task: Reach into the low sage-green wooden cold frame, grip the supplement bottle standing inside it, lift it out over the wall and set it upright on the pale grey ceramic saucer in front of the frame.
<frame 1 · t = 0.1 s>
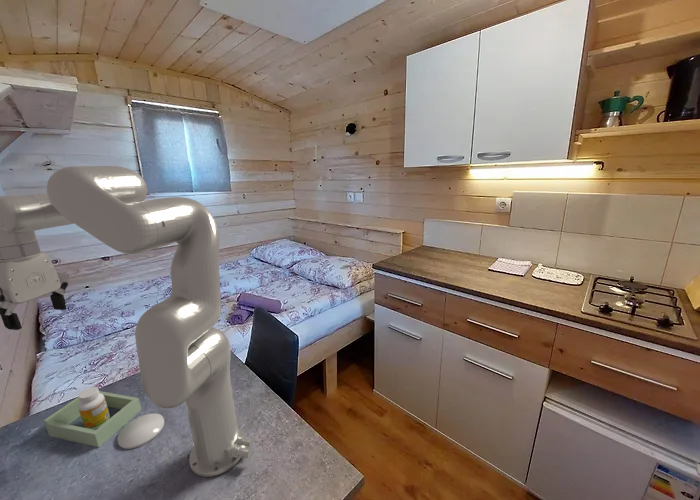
hand: (39, 318, 73), 31 cm above the table, tool pointing down, fingers open, 9 cm apart
saucer: (142, 431, 78), on the table
supplement bottle: (98, 422, 81), resting in cold frame
cold frame: (97, 422, 81), on the table
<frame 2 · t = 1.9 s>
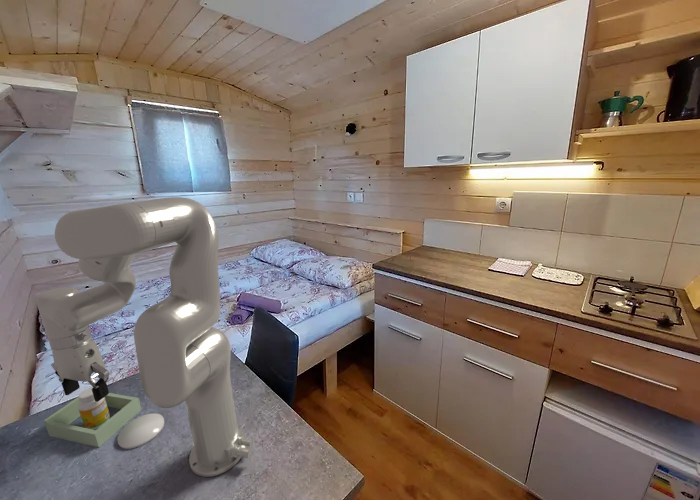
hand: (87, 394, 79), 9 cm above the table, tool pointing down, fingers open, 9 cm apart
nothing on the table moved.
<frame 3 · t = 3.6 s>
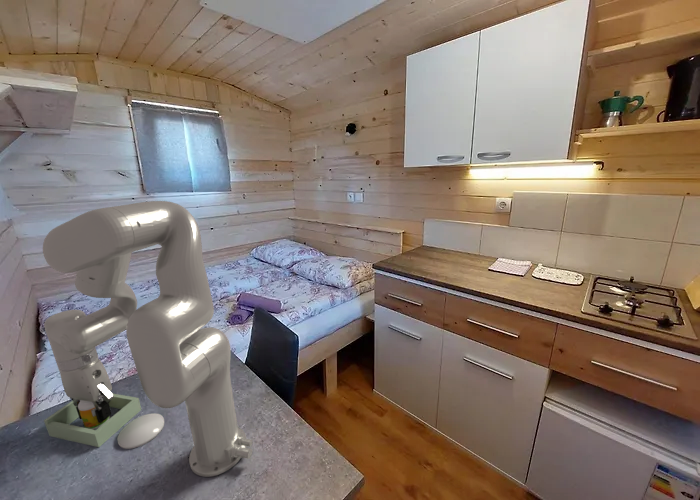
hand: (95, 416, 80), 2 cm above the table, tool pointing down, fingers closed on supplement bottle, 5 cm apart
supplement bottle: (98, 422, 81), resting in cold frame, touching gripper
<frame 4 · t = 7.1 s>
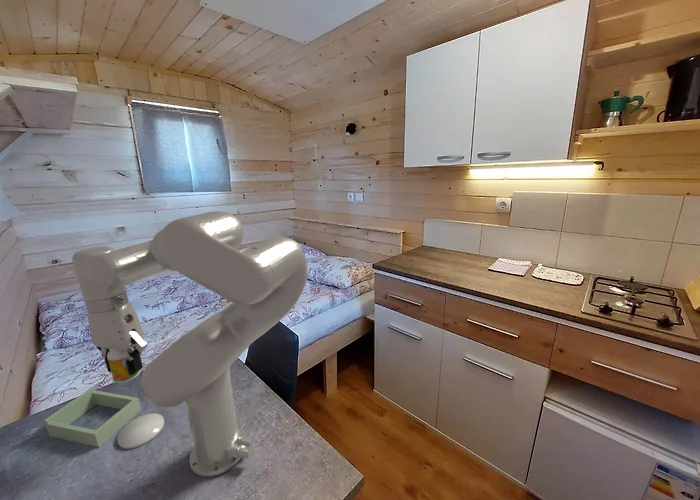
hand: (125, 369, 73), 19 cm above the table, tool pointing down, fingers closed on supplement bottle, 5 cm apart
supplement bottle: (127, 376, 73), point 17 cm above the table, touching gripper
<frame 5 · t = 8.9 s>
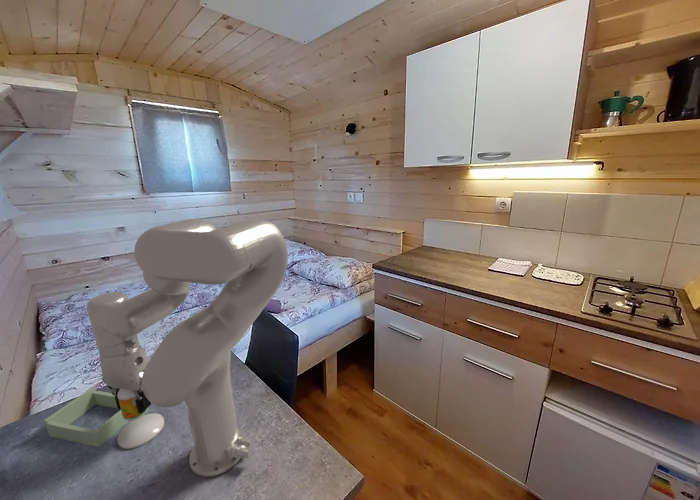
hand: (134, 406, 76), 8 cm above the table, tool pointing down, fingers closed on supplement bottle, 5 cm apart
supplement bottle: (136, 413, 76), point 6 cm above the table, touching gripper
when the fingers open (4 cm above the table, at t = 10.6 s): supplement bottle drops 1 cm, resting on saucer.
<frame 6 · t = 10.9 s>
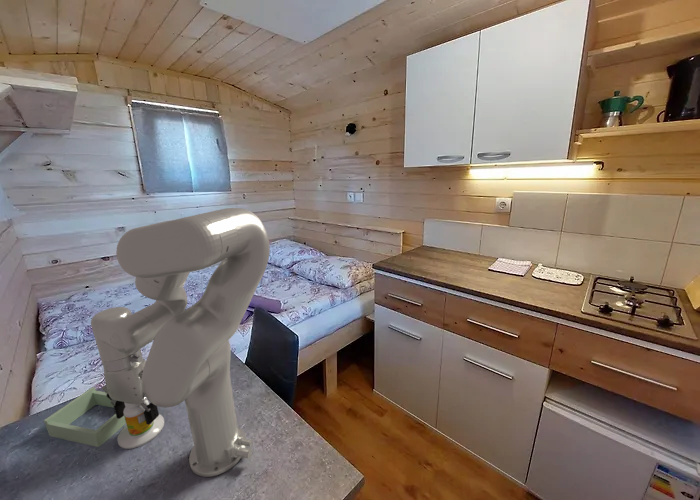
hand: (138, 417, 77), 5 cm above the table, tool pointing down, fingers open, 8 cm apart
supplement bottle: (142, 429, 78), point 1 cm above the table, touching saucer
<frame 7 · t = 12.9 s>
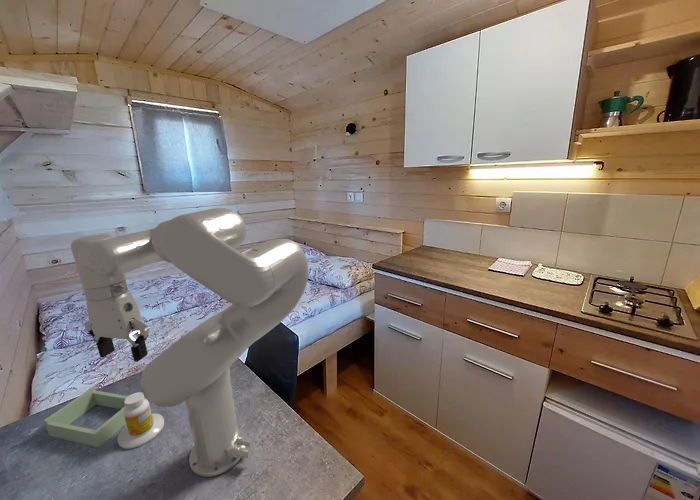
hand: (124, 356, 72), 22 cm above the table, tool pointing down, fingers open, 9 cm apart
nothing on the table moved.
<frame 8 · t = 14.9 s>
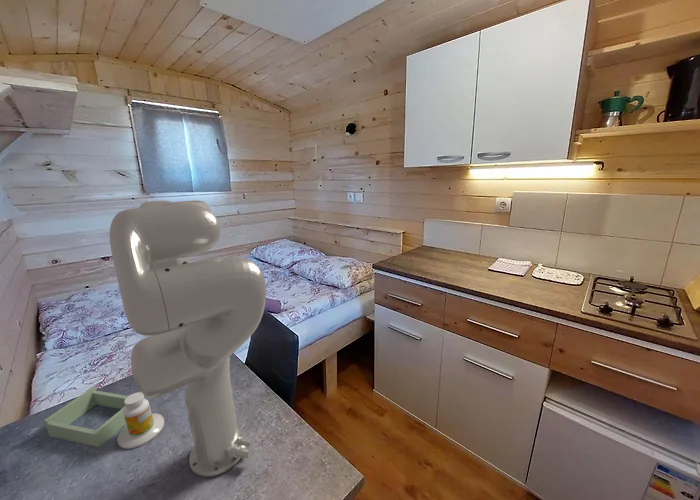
hand: (178, 311, 81), 28 cm above the table, tool pointing down, fingers open, 9 cm apart
nothing on the table moved.
at the end: supplement bottle 0.2 cm off-centre on the saucer, point 0.6 cm above the saucer's base; supplement bottle tilted 0°; the gripper is holding nothing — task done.
